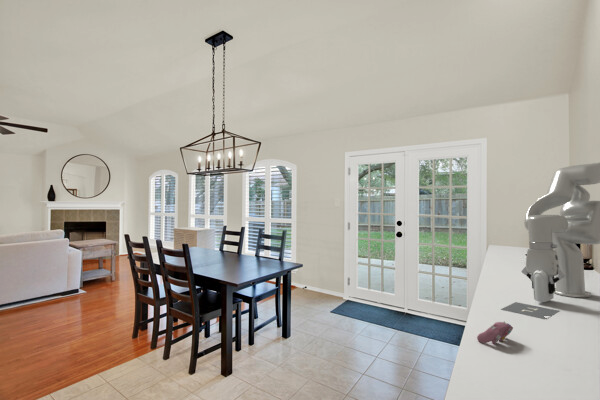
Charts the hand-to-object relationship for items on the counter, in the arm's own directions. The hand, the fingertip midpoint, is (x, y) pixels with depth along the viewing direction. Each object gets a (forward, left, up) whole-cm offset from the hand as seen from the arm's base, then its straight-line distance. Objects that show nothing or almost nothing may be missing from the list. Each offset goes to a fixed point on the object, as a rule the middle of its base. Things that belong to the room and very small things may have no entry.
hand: (543, 291), depth 122 cm
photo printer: (0, 0, -3) cm, 3 cm away
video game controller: (+53, +4, -5) cm, 53 cm away
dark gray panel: (+15, 0, -4) cm, 16 cm away
